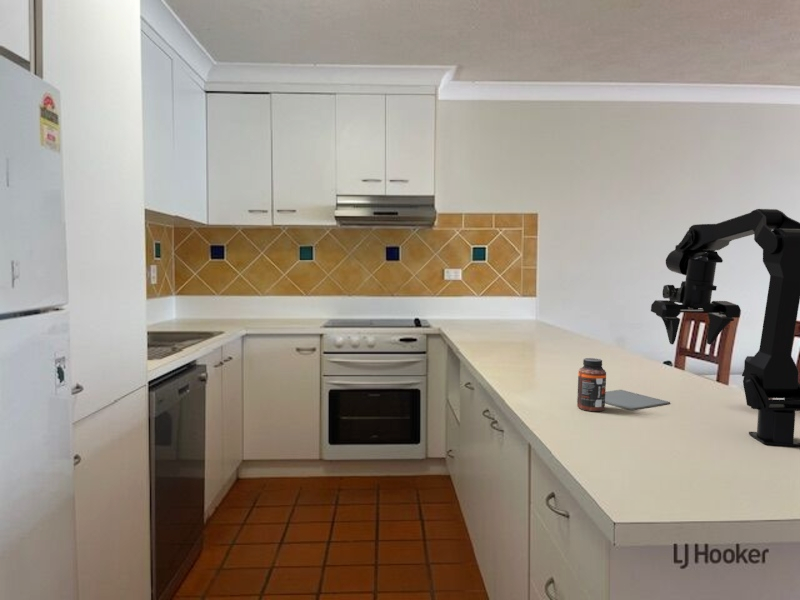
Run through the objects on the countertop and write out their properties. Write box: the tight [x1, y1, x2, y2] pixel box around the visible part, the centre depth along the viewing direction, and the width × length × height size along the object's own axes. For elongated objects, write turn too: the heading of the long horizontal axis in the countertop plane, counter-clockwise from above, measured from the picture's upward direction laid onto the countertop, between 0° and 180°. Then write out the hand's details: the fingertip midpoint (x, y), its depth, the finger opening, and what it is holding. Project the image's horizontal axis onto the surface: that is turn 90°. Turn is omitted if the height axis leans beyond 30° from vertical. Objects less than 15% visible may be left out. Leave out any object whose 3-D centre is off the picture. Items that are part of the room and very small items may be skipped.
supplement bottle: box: [576, 357, 607, 412], centre depth 124 cm, size 6×6×11 cm
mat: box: [605, 389, 671, 411], centre depth 132 cm, size 14×14×1 cm
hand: (690, 344), depth 130 cm, fingers open, 9 cm apart
